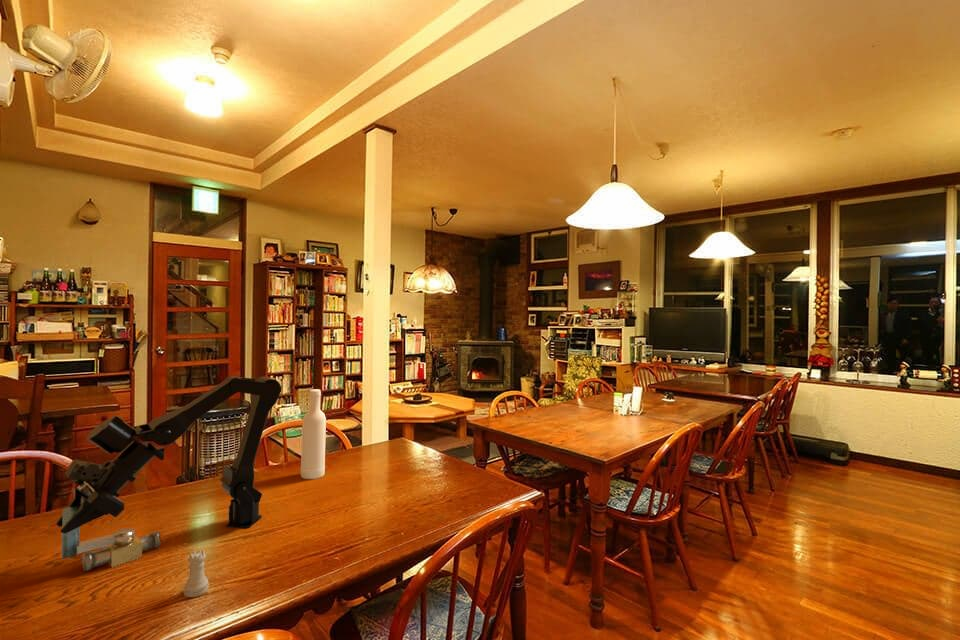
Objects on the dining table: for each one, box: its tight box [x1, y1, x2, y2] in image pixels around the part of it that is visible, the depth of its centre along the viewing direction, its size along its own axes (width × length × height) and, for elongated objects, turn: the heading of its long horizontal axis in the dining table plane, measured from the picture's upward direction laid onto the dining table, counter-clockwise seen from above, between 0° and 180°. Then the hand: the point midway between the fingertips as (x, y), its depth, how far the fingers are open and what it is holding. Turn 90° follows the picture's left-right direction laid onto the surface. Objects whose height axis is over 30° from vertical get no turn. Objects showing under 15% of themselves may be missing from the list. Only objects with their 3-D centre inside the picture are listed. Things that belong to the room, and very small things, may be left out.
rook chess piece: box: [183, 549, 210, 599], centre depth 93 cm, size 4×4×8 cm
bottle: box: [300, 388, 327, 480], centre depth 159 cm, size 8×8×30 cm
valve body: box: [81, 530, 162, 572], centre depth 104 cm, size 14×6×4 cm, turn 143°
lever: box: [61, 506, 135, 559], centre depth 101 cm, size 12×4×10 cm, turn 135°
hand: (60, 529), depth 96 cm, fingers open, 4 cm apart
